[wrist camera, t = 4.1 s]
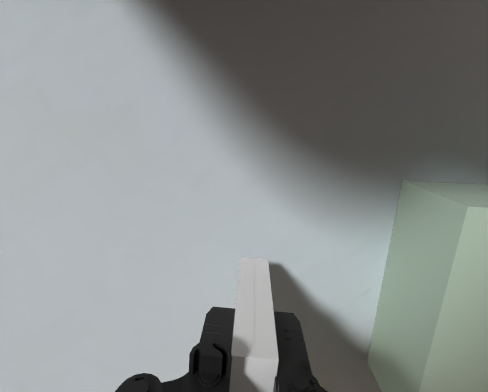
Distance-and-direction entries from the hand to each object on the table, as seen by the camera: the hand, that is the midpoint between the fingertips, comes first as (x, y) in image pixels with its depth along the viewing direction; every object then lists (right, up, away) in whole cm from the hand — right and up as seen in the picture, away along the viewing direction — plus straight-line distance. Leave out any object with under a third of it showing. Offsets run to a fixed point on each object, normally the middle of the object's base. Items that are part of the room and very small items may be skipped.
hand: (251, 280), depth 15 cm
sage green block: (+11, 0, +2) cm, 11 cm away
